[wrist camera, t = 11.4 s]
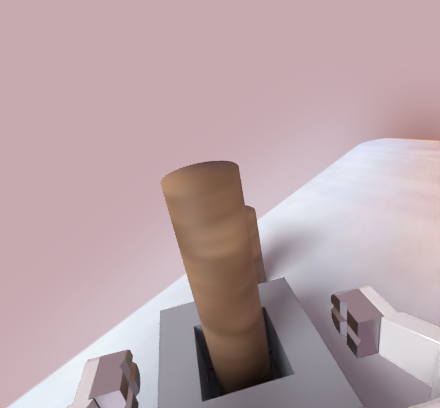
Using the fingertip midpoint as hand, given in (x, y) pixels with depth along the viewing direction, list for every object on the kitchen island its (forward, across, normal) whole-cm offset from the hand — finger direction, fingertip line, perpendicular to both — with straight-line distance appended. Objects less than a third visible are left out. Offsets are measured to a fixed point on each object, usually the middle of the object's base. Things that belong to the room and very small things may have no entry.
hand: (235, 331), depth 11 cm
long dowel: (+4, 0, +11) cm, 12 cm away
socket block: (+4, 0, +11) cm, 12 cm away
